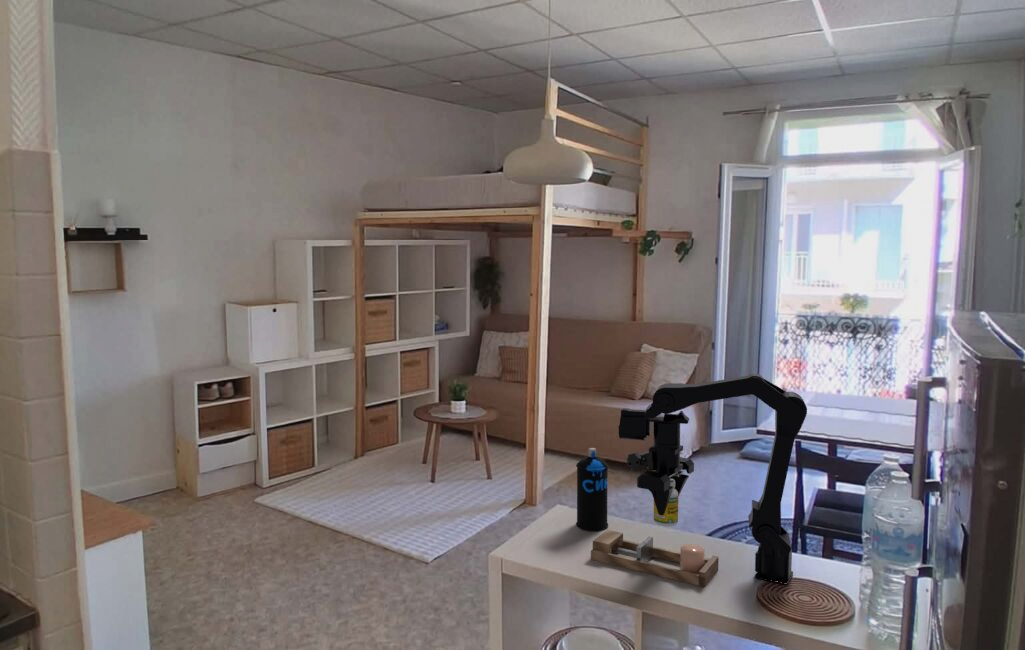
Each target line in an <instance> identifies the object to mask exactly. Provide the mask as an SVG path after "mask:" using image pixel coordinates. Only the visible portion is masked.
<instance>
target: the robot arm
mask: <svg viewBox="0 0 1025 650" xmlns="http://www.w3.org/2000/svg"><path fill="white" fill-rule="evenodd" d="M652 395H653V396H652V402H651V404H649V405H648V406H647V407H646V408H645V409H631V408H626V407H625V408H624V407H623V408H621V410H620V417H619V425H618V437H619V439H620V440H629V441H631V440H633V441H646V440H647V438H648V437H651V436H652V423H653V445H651V446H649V447H648V450H645V451H641V452H638V451H635V452H631V453H628V455H627V458H626V460H627V462H626V465H627V467H629V468H630V469H631V471H632V472H636V471H637V470H641V469H646V468H647V470H646V471H645V472H642V473H641V474H640V475H639V476H638V477H636V487H637V488H638V489H644V490H649V492H650V493H651V496H652V497H653V502H654V501H655V505H656V508H657V511H658V514H659V515H664V513H665V510H666V507H667V505H668V502H669V499H670V496H671V493H672V490H673V486H670V478H671V479H674V480H675V488H674V489H676V490H677V491H678V498H679V497H680V495H681V492H682V490H683V488H684V486H685V484H686V482H687V481H688V479H689V476H690V475H691V474H692V473H694V471H695V463H694V461H693V460H692V459H691V458H688V457H687V458H686V457H682V456H681V452H682V451H683V450H684V445H682V444H681V424H684V425H687V424H689V422H690V417H688V416H687V415H686V414H685V413H684V411H683V409H686V408H688V407H690V406H693V405H696V404H700V403H704V402H711V401H713V402H714V401H718V400H726V399H731V398H737V397H744V396H752V395H753V396H755V397H756V398H758V399H759V400H760V401H761V402H763V404H766V405H767V406H768V407H769V408H770V409H773V410H774V415H775V416H774V417H775V418H774V420H775V422H774V424H775V425H774V426H775V432H774V439H773V444H772V447H771V452H770V457H769V462H768V467H767V472H766V476H765V477H766V478H765V480H764V485H763V490H762V493H761V496H760V499H759V500H758V501H757V500H754V499H752V500H751V511H750V512H749V514H748V517H747V518H748V527H749V528H751V529H750V530H751V535H752V537H753V539H754V540H755V541H756V542H757V543H758V544H759V545H758V547H757V551H756V552H755V554H754V555H755V558H754V560H755V561H754V571H755V572H756V573H755V575H754V577H755V578H756V579H760V580H764V581H768V580H772V581H778V582H782V583H788V582H790V581H789V580H791V579H792V577H793V576H794V571H792V567H793V566H792V563H793V561H792V560H793V548H792V545H791V541H790V535H789V532H788V531H787V530H786V529H785V528H784V527H783V526H782V509H781V508H782V507H781V506H782V499H783V495H784V490H785V487H786V486H785V485H786V481H787V475H788V471H789V466H790V461H791V457H792V452H793V448H794V443H795V440H796V437H797V436H798V435H799V433H800V430H801V429H802V428H803V424H804V422H805V420H806V417H807V415H808V407H807V404H806V402H805V400H804V399H803V398H802V396H801V394H798V392H794V391H786V390H784V389H782V388H781V387H780V386H778V385H776V384H775V383H772V382H771V381H769V380H767V379H766V378H764V377H763V376H762V375H760V374H758V373H750V374H749V375H745V376H744V375H743V376H738V377H731V378H725V379H721V380H714V381H707V382H702V383H695V384H694V383H693V384H692V383H681V382H680V383H669V382H668V383H663V384H661V385H659V387H657V389H656V390H655V392H654V393H653V394H652ZM680 410H681V411H680ZM678 411H679V412H678ZM675 412H678V413H675ZM661 414H664V415H663V416H659V415H661ZM682 470H683V471H682ZM684 471H686V473H687V474H684ZM688 474H689V475H688ZM772 581H771V582H772ZM788 584H789V583H788Z"/></svg>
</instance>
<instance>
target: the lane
mask: <svg viewBox="0 0 1025 650" xmlns="http://www.w3.org/2000/svg"><path fill="white" fill-rule="evenodd" d="M639 544H641V542H640V543H639V542H635V541H630V540H626V539H624V532H619V531H615V530H610V529H605V531H604V532H602V533H600V534H599V535H598V536H597V537H595V538H594V539H593V540H592V549H591V550H590V560H594V561H596V562H601V563H605V564H608V565H614V566H617V567H622V568H626V569H630V570H634V571H638V572H642V573H646V574H651V575H654V576H659V577H662V578H666V579H670V580H675V581H678V582H679V581H680V582H682V583H683V582H684V583H688V584H689V585H695V586H698V587H699V586H700V587H703V588H705V587H706V586H707V585H708V583H709V582H710V581H711V579H712V578H713V577H714V576H715V574H717V572H718V571H719V556H717V555H712V556H711V557H710V558H706V557H704V566H703V568H702V569H701V570H700V571H699V574H695V573H690V572H686V571H682V570H680V569H677V568H673V567H670V566H664V565H661V564H660V565H659V564H655V563H651V562H649V561H648V562H644V561H640V560H636V558H632V557H628V556H624V555H620V554H614V553H612V551H617V549H618V548H623V549H628V550H632V551H637V546H638V545H639ZM653 557H654V558H658V559H662V560H667V561H671V562H675V563H679V564H680V551H675V550H670V549H666V548H661V547H657V546H653ZM653 557H652V558H653Z"/></svg>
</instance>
